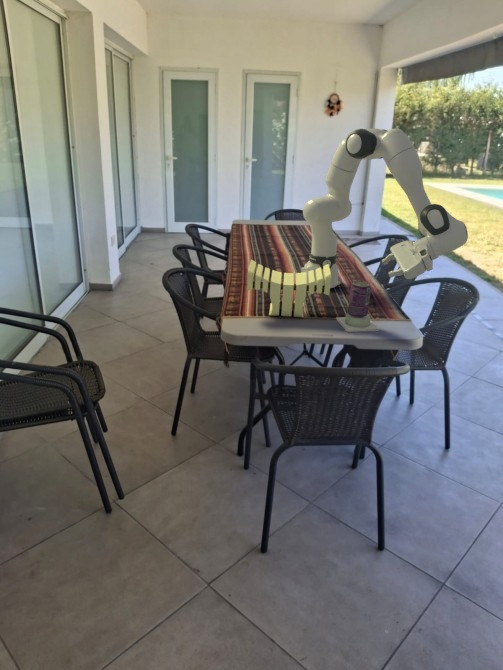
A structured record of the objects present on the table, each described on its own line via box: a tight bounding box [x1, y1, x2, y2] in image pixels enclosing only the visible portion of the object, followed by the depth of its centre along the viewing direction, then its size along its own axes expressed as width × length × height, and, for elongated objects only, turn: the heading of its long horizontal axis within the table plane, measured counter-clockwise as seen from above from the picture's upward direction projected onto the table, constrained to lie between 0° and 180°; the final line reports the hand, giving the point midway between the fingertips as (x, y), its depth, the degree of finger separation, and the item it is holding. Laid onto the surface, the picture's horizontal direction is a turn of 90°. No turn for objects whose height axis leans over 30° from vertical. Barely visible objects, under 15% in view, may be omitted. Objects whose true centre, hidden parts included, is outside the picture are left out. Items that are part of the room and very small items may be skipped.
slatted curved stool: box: [246, 259, 331, 318], centre depth 186 cm, size 30×16×18 cm, turn 85°
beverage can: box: [347, 280, 372, 318], centre depth 175 cm, size 7×7×12 cm
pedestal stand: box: [335, 311, 380, 333], centre depth 178 cm, size 12×12×4 cm
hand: (385, 268), depth 178 cm, fingers open, 8 cm apart
